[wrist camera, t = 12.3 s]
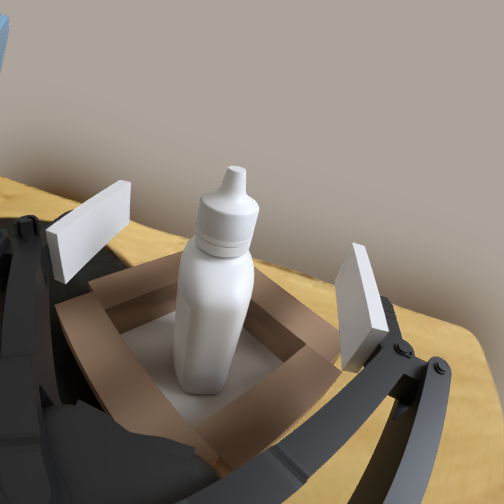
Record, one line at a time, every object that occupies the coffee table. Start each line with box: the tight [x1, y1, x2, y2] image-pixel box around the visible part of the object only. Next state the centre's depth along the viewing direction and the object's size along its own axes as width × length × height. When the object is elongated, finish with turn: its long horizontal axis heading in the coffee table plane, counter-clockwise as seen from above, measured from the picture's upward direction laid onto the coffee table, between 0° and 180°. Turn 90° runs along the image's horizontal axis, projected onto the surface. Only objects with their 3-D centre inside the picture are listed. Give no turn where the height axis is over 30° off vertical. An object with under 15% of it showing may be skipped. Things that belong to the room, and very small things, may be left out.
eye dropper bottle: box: [173, 166, 259, 394], centre depth 14 cm, size 4×6×12 cm
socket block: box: [55, 251, 342, 478], centre depth 17 cm, size 14×14×3 cm
